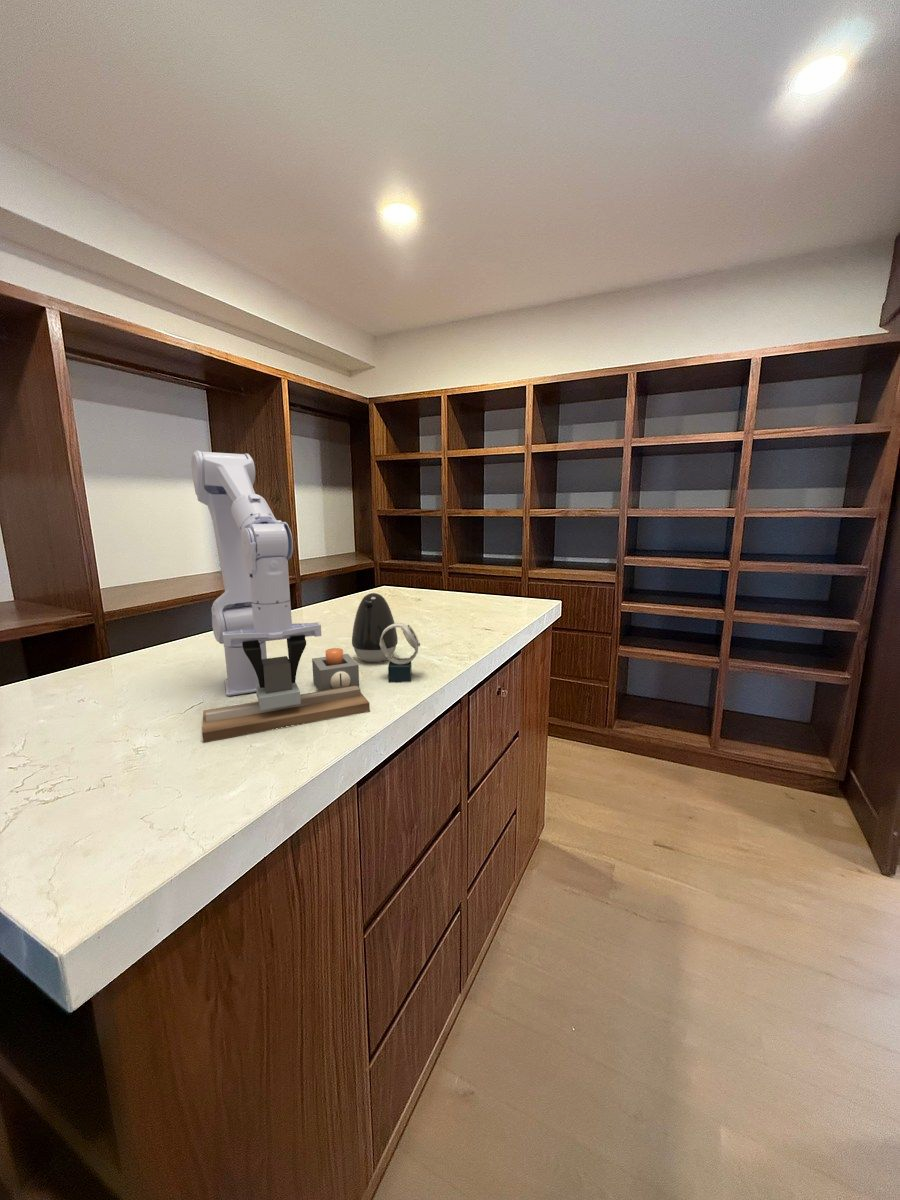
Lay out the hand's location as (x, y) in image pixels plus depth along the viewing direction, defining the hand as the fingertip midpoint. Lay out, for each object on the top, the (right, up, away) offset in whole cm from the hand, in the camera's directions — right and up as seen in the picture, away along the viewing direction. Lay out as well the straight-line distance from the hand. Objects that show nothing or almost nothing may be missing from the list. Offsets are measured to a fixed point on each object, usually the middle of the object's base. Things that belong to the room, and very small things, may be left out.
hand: (277, 683), depth 78 cm
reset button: (+6, +2, +13) cm, 15 cm away
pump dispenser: (+11, 0, +32) cm, 33 cm away
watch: (+18, -2, +20) cm, 27 cm away
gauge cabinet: (+6, -3, +14) cm, 16 cm away
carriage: (0, -3, 0) cm, 3 cm away
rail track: (+1, -6, +2) cm, 6 cm away
